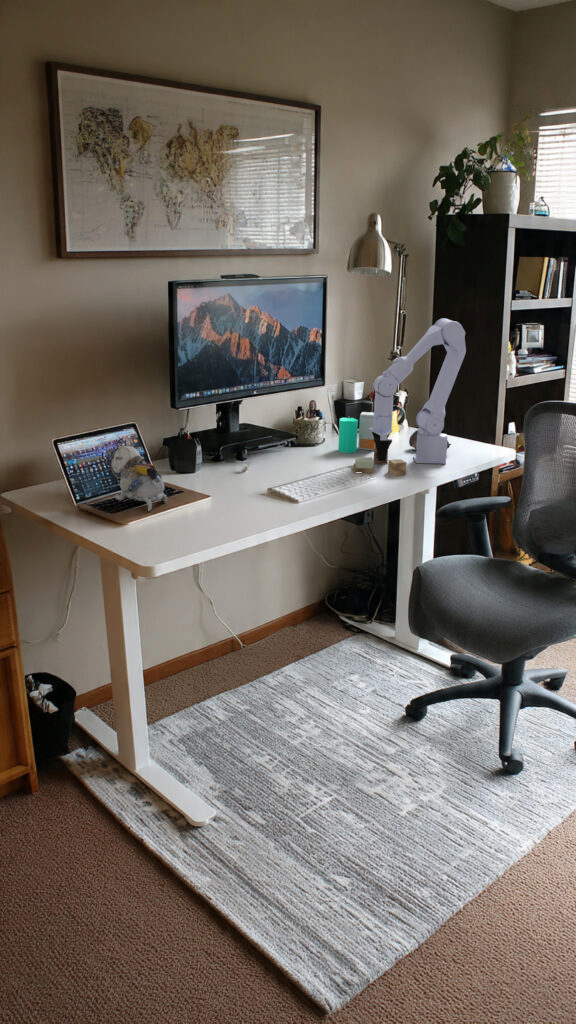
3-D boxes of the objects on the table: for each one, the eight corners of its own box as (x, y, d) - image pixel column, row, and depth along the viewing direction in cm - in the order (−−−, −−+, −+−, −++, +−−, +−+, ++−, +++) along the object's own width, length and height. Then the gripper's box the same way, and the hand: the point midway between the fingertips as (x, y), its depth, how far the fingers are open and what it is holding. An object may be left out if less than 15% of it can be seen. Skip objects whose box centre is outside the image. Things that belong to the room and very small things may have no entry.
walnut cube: (386, 460, 266) (387, 448, 264) (387, 463, 262) (387, 451, 261) (373, 460, 266) (374, 448, 264) (374, 463, 262) (375, 451, 261)
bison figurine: (407, 449, 281) (414, 455, 271) (408, 428, 279) (416, 434, 269) (441, 449, 282) (450, 455, 273) (443, 428, 280) (452, 434, 271)
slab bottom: (371, 470, 256) (371, 463, 256) (372, 475, 251) (372, 468, 250) (353, 469, 256) (353, 463, 256) (354, 474, 251) (354, 468, 251)
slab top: (371, 463, 255) (371, 457, 255) (373, 468, 251) (373, 461, 250) (355, 463, 255) (355, 457, 255) (356, 468, 251) (356, 461, 250)
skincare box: (357, 449, 278) (359, 414, 274) (360, 446, 282) (362, 411, 278) (375, 451, 276) (377, 415, 272) (378, 448, 280) (380, 412, 276)
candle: (356, 453, 273) (358, 417, 270) (338, 452, 274) (340, 416, 270) (355, 448, 279) (357, 413, 275) (337, 448, 279) (339, 412, 275)
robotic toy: (134, 491, 230) (132, 438, 225) (178, 504, 220) (177, 449, 215) (97, 502, 221) (94, 446, 216) (141, 516, 210) (139, 458, 205)
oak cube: (399, 471, 254) (400, 459, 252) (405, 475, 250) (406, 462, 249) (387, 472, 253) (388, 459, 251) (393, 476, 249) (394, 463, 248)
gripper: (368, 409, 266) (366, 451, 270) (371, 419, 252) (369, 463, 257) (391, 410, 266) (388, 451, 270) (395, 420, 252) (392, 463, 256)
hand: (380, 457), depth 263 cm, fingers open, 7 cm apart
